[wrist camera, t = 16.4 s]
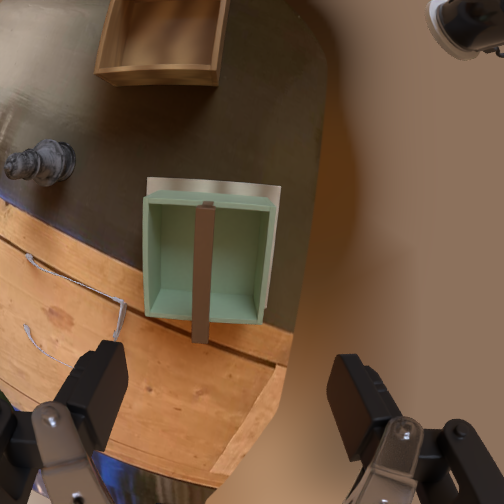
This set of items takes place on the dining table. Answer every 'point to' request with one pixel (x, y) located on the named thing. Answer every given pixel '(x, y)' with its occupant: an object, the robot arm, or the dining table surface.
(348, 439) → the robot arm
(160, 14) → the brown wooden open box
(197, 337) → the top basket
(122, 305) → the eyeglasses
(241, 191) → the placemat
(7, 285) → the dining table surface
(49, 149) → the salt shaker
